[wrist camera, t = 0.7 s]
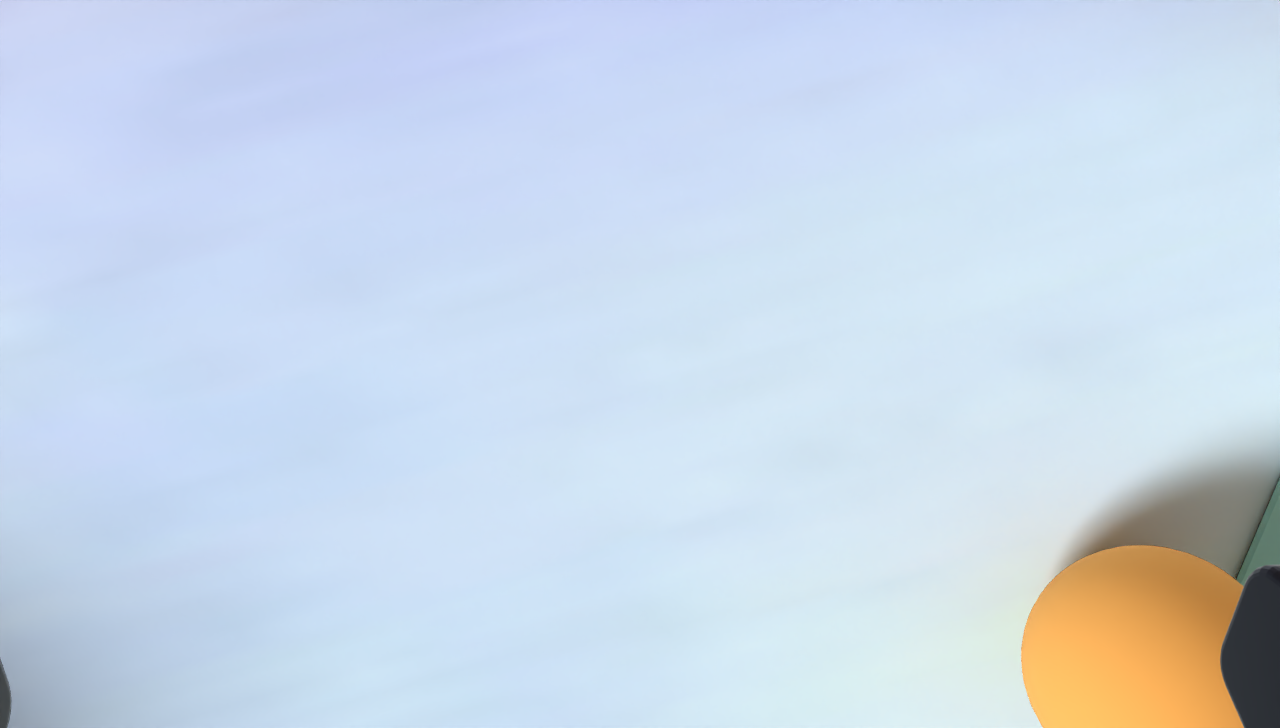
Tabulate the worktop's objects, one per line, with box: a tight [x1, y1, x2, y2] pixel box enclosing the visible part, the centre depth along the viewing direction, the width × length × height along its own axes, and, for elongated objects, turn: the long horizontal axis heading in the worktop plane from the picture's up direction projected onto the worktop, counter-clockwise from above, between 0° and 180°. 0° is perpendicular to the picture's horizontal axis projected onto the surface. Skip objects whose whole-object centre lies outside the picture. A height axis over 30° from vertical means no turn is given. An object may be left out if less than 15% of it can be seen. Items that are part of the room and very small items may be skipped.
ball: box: [1021, 545, 1244, 728], centre depth 23 cm, size 5×5×5 cm
